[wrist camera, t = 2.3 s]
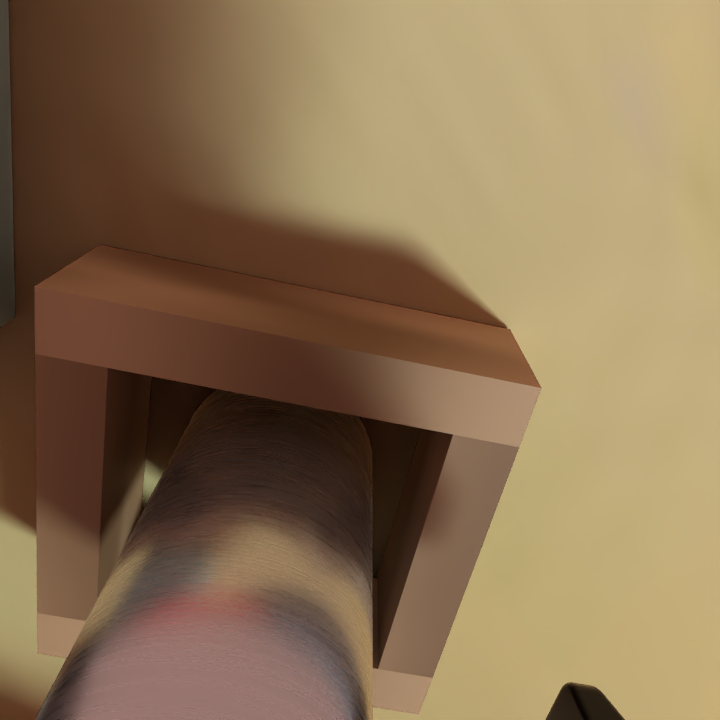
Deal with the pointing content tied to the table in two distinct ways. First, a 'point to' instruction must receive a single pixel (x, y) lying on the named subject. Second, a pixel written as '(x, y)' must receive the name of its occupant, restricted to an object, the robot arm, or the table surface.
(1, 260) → the tray
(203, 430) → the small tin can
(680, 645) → the table surface
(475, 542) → the wooden square frame
